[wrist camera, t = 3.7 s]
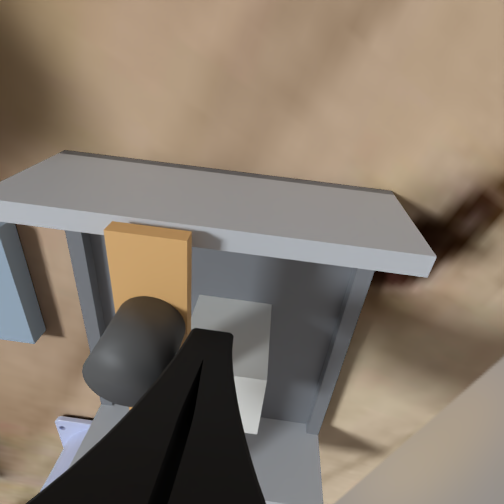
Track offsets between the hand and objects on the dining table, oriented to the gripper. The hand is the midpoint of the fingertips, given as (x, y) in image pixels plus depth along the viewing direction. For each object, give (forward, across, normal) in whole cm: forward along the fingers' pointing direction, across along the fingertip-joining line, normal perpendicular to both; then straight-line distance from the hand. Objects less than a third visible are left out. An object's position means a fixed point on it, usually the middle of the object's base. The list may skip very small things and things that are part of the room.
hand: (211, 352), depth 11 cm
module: (+7, 0, +6) cm, 9 cm away
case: (+8, +1, +6) cm, 9 cm away
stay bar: (+2, +2, +6) cm, 6 cm away
